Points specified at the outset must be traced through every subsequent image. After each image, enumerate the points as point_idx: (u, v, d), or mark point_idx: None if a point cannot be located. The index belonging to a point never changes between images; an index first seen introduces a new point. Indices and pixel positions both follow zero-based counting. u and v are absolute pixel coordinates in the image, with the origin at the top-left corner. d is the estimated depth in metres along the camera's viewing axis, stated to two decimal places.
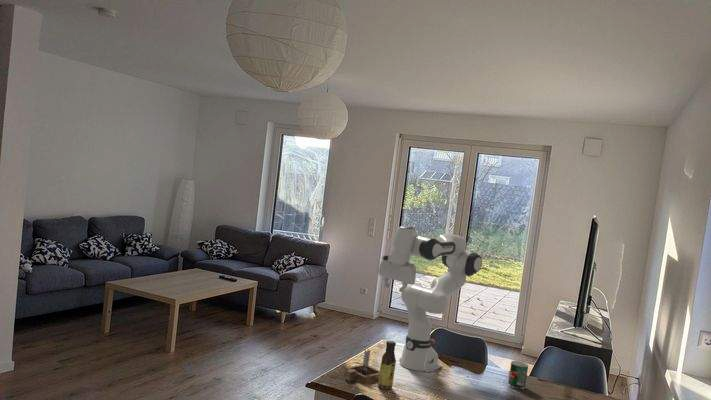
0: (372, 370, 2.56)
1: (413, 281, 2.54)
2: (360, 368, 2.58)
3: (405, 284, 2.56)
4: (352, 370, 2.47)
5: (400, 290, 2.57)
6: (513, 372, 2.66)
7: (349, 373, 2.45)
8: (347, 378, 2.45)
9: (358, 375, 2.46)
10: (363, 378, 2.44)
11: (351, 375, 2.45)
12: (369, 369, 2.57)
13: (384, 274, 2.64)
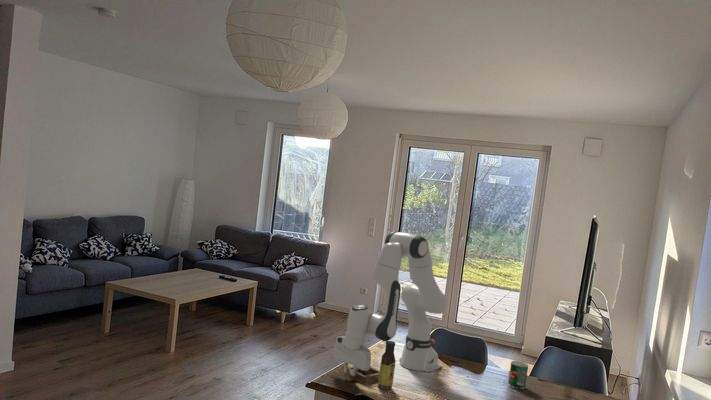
0: (372, 370, 2.56)
1: (368, 367, 2.39)
2: None
3: (356, 367, 2.43)
4: (352, 370, 2.47)
5: (351, 374, 2.44)
6: (513, 372, 2.66)
7: (349, 373, 2.45)
8: (347, 378, 2.45)
9: (358, 375, 2.46)
10: (363, 378, 2.44)
11: (351, 375, 2.45)
12: (369, 369, 2.57)
13: (339, 356, 2.49)
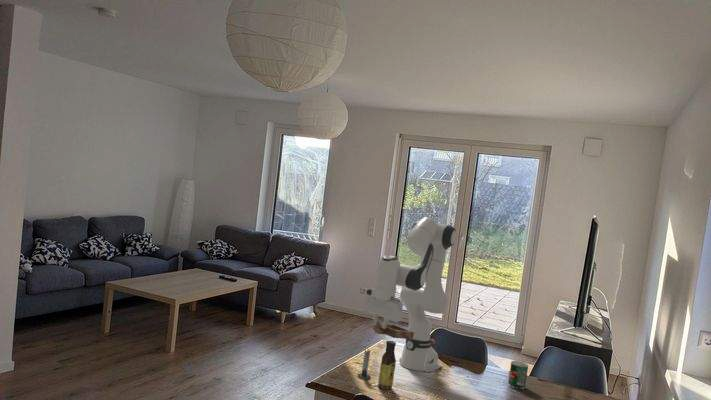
0: (401, 329, 2.46)
1: (400, 318, 2.29)
2: (388, 327, 2.48)
3: (387, 319, 2.33)
4: (382, 323, 2.37)
5: (382, 326, 2.34)
6: (513, 372, 2.66)
7: (379, 325, 2.35)
8: (377, 331, 2.36)
9: (388, 329, 2.37)
10: (394, 332, 2.34)
11: (381, 328, 2.35)
12: (398, 328, 2.47)
13: (369, 309, 2.39)
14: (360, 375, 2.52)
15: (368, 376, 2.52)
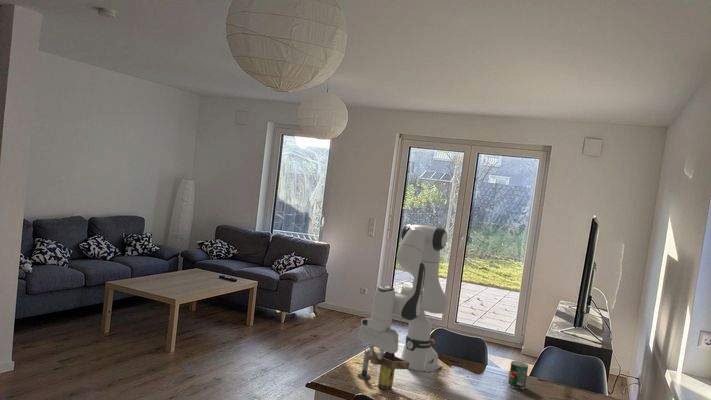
0: (397, 359, 2.46)
1: (396, 349, 2.30)
2: None
3: (382, 350, 2.34)
4: None
5: (377, 357, 2.35)
6: (513, 372, 2.66)
7: (375, 356, 2.35)
8: (372, 361, 2.36)
9: (384, 360, 2.37)
10: (389, 363, 2.35)
11: (377, 358, 2.36)
12: None
13: (364, 339, 2.40)
14: (360, 375, 2.52)
15: (368, 376, 2.52)
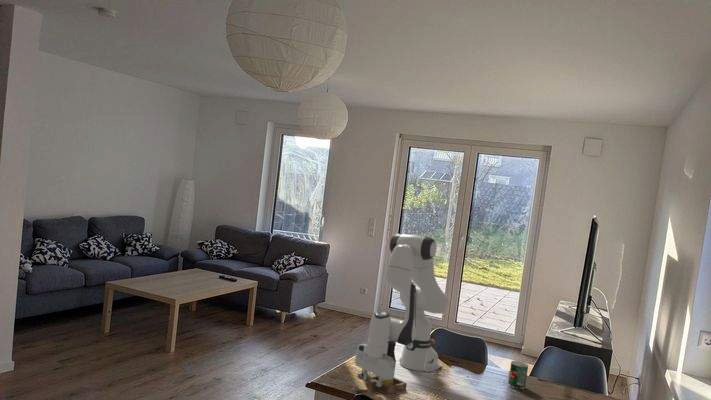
0: (394, 380, 2.47)
1: (392, 376, 2.30)
2: None
3: (382, 378, 2.33)
4: (374, 380, 2.38)
5: (377, 384, 2.34)
6: (513, 372, 2.66)
7: (371, 383, 2.36)
8: (369, 389, 2.36)
9: None
10: (385, 389, 2.35)
11: (373, 386, 2.36)
12: None
13: (361, 365, 2.40)
14: (360, 375, 2.52)
15: None
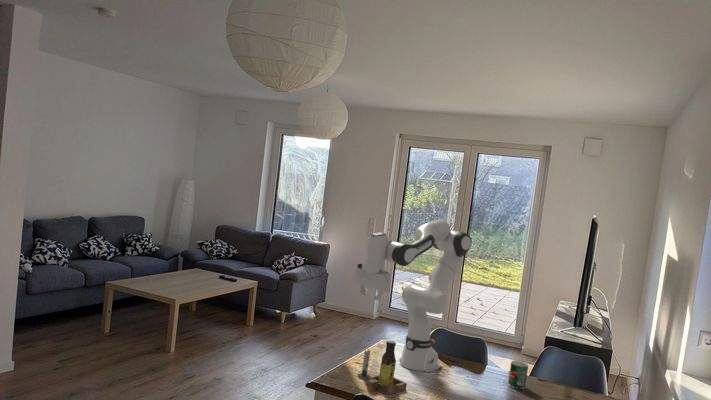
0: (394, 380, 2.47)
1: (388, 289, 2.52)
2: None
3: (380, 292, 2.54)
4: (374, 380, 2.38)
5: (376, 298, 2.55)
6: (513, 372, 2.66)
7: (371, 383, 2.36)
8: (369, 389, 2.36)
9: (380, 386, 2.37)
10: (385, 389, 2.35)
11: (373, 386, 2.36)
12: None
13: (359, 282, 2.62)
14: (360, 375, 2.52)
15: (368, 376, 2.52)
